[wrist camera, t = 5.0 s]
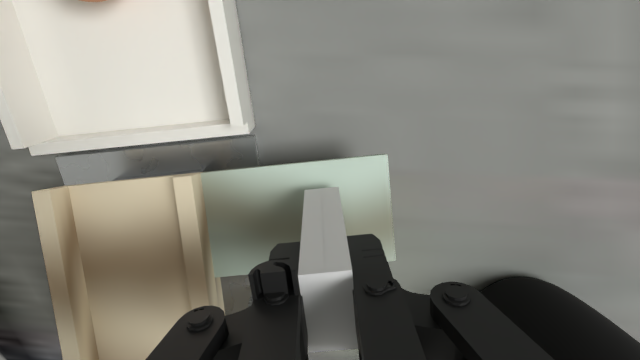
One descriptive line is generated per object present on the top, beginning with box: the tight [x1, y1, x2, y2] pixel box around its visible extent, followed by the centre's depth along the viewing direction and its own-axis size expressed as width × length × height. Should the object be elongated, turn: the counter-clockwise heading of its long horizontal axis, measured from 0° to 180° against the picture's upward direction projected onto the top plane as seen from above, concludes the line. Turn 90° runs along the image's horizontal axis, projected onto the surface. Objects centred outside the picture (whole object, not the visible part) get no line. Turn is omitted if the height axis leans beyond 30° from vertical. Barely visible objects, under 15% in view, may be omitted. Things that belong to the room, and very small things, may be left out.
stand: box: [55, 135, 260, 360], centre depth 21 cm, size 21×11×8 cm, turn 6°
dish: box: [0, 0, 255, 156], centre depth 17 cm, size 11×11×4 cm
